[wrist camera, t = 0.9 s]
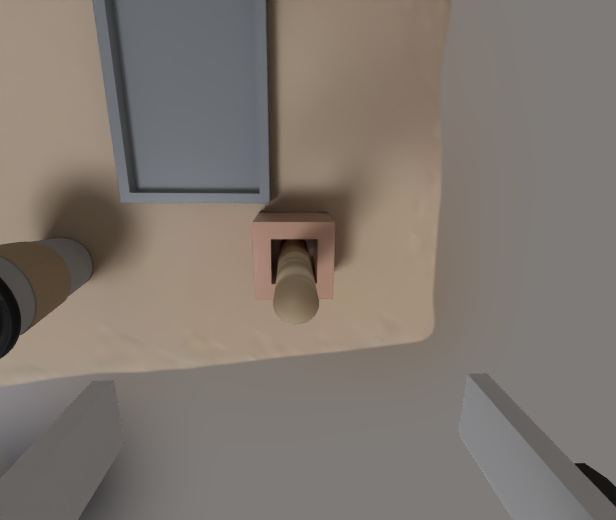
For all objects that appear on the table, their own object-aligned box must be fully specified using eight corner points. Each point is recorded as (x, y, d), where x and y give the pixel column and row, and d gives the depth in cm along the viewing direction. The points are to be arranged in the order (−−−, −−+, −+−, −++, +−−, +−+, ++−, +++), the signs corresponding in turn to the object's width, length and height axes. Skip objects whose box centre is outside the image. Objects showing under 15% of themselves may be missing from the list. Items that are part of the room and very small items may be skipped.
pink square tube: (259, 212, 37) (252, 221, 30) (327, 212, 37) (335, 222, 30) (261, 276, 39) (255, 299, 32) (325, 276, 39) (332, 298, 32)
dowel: (280, 234, 37) (272, 282, 21) (307, 234, 37) (319, 281, 21) (280, 260, 37) (273, 324, 22) (306, 260, 37) (318, 324, 22)
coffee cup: (3, 242, 36) (-186, 292, 22) (78, 207, 36) (-66, 233, 21) (56, 314, 39) (-83, 401, 24) (127, 281, 38) (27, 351, 24)
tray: (99, -46, 30) (83, -64, 28) (266, -39, 31) (264, -56, 28) (131, 200, 36) (120, 202, 33) (270, 201, 36) (269, 203, 34)
